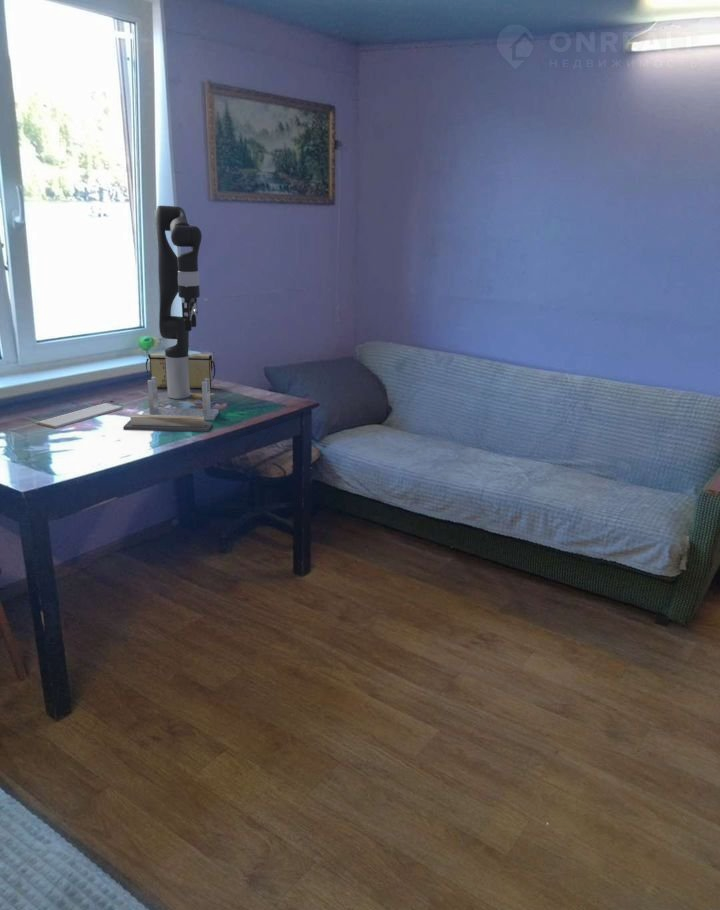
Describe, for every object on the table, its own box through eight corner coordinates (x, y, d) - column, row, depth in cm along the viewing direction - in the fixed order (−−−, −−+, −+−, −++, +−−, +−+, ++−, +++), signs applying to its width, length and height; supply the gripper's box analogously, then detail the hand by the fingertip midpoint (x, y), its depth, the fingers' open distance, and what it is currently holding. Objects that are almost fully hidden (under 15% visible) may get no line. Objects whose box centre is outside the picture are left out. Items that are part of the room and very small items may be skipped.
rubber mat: (130, 422, 257) (129, 420, 257) (212, 425, 258) (212, 422, 257) (123, 429, 249) (123, 426, 249) (208, 431, 250) (208, 429, 250)
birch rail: (133, 422, 254) (132, 414, 253) (205, 424, 255) (204, 416, 254) (131, 424, 251) (130, 416, 250) (203, 426, 252) (203, 418, 251)
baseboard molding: (33, 424, 253) (55, 430, 248) (32, 416, 252) (54, 422, 247) (101, 405, 279) (122, 410, 274) (100, 398, 278) (122, 403, 273)
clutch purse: (216, 385, 314) (215, 352, 309) (215, 389, 307) (213, 355, 302) (149, 384, 311) (146, 351, 306) (145, 388, 305) (143, 354, 300)
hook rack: (148, 410, 272) (146, 375, 267) (218, 412, 273) (217, 377, 268) (141, 418, 263) (138, 381, 258) (213, 420, 263) (212, 384, 259)
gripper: (182, 281, 260) (184, 325, 265) (173, 285, 246) (176, 331, 252) (202, 282, 260) (204, 325, 265) (195, 286, 246) (197, 332, 252)
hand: (190, 328), depth 259 cm, fingers open, 8 cm apart
